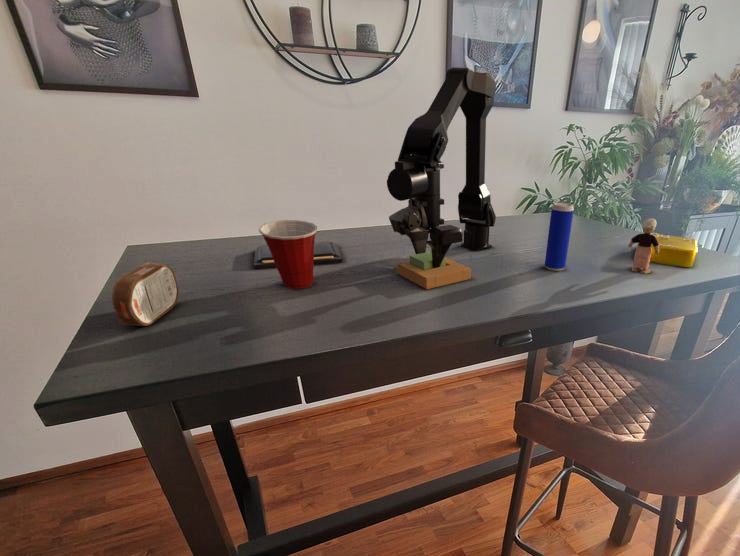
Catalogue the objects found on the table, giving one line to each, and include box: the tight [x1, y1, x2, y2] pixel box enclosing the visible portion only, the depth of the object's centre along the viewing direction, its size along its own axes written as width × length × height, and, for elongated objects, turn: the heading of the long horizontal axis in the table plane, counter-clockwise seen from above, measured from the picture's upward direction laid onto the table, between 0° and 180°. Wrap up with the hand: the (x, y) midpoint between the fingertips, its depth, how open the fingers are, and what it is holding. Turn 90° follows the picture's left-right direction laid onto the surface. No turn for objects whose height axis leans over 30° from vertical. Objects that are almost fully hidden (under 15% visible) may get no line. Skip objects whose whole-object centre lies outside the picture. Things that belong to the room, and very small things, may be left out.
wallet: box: [253, 240, 343, 269], centre depth 109 cm, size 20×2×15 cm
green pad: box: [409, 251, 447, 270], centre depth 101 cm, size 6×6×3 cm
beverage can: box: [544, 202, 575, 272], centre depth 106 cm, size 5×5×15 cm
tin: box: [111, 261, 179, 327], centre depth 75 cm, size 15×3×8 cm, turn 5°
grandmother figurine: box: [627, 217, 659, 274], centre depth 108 cm, size 8×4×13 cm, turn 65°
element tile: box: [635, 232, 698, 268], centre depth 121 cm, size 15×15×5 cm
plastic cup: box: [258, 219, 318, 290], centre depth 90 cm, size 11×11×12 cm
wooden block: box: [396, 256, 472, 290], centre depth 100 cm, size 12×12×2 cm
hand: (428, 266), depth 102 cm, fingers closed on green pad, 6 cm apart
